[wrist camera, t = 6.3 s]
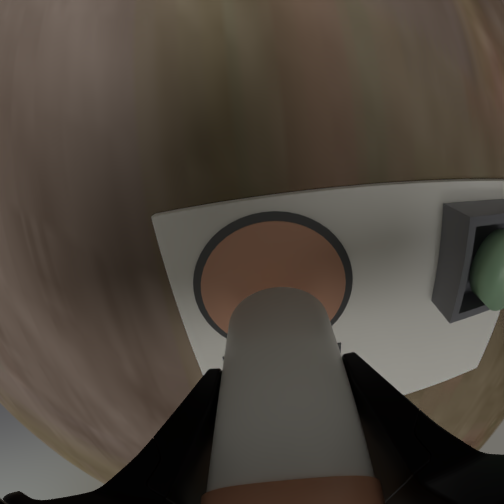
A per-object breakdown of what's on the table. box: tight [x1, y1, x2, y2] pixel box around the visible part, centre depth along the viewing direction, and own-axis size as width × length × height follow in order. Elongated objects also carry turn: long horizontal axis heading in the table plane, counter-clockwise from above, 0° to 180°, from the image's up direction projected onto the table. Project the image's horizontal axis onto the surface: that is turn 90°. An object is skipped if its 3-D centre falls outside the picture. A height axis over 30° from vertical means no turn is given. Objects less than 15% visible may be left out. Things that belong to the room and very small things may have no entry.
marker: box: [200, 287, 385, 504], centre depth 6 cm, size 4×4×10 cm
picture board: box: [151, 179, 504, 395], centre depth 15 cm, size 22×16×1 cm
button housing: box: [431, 199, 504, 323], centre depth 11 cm, size 6×6×2 cm
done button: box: [470, 228, 504, 311], centre depth 10 cm, size 4×4×2 cm
